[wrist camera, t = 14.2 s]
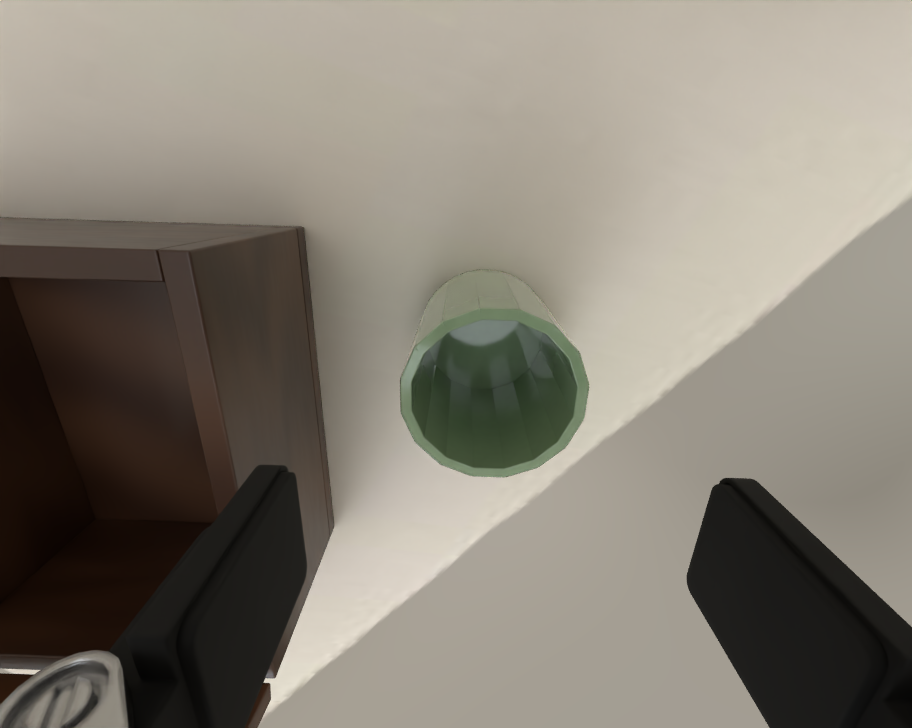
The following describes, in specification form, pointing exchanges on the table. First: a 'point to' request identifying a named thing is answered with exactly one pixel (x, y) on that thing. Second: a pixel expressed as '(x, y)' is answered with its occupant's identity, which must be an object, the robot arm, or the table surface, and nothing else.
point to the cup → (491, 378)
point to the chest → (143, 413)
